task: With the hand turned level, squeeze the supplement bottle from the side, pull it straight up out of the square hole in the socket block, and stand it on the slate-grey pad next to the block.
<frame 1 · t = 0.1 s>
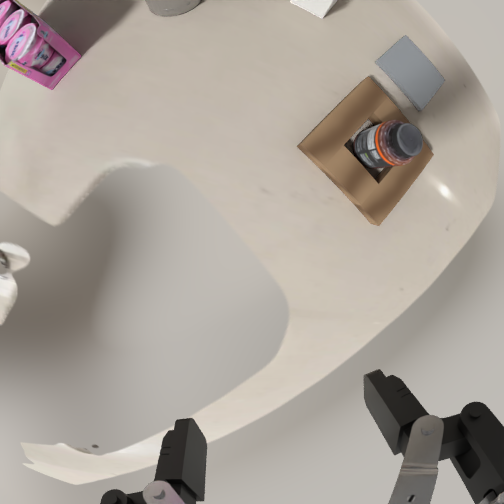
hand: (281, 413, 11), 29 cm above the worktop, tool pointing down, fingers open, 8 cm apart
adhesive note: (313, 2, 31), on the worktop
slate pad: (411, 71, 34), on the worktop
gum box: (44, 49, 28), on the worktop
supplement bottle: (368, 149, 37), resting in socket block
socket block: (369, 149, 37), on the worktop
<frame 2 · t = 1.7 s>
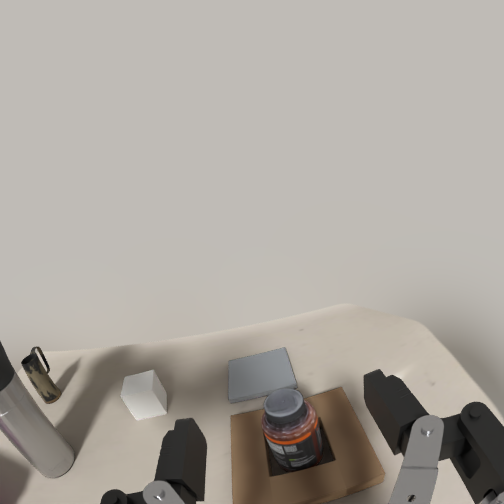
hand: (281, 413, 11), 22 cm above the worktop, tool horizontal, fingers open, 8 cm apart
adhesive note: (152, 407, 42), on the worktop
slate pad: (260, 375, 45), on the worktop
supplement bottle: (300, 456, 27), resting in socket block
mug: (54, 395, 47), on the worktop
socket block: (299, 455, 27), on the worktop
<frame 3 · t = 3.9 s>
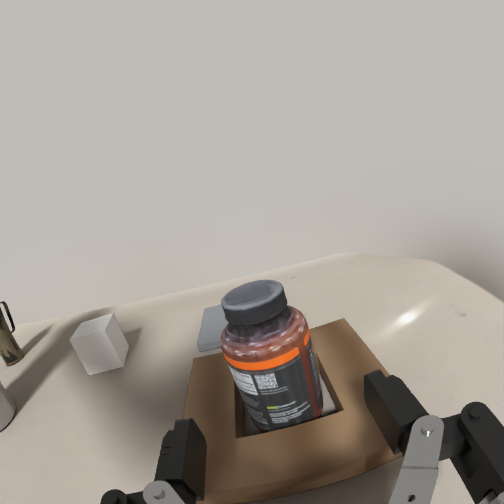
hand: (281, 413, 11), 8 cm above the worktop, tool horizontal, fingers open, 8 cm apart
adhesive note: (110, 362, 35), on the worktop
slate pad: (240, 321, 38), on the worktop
supplement bottle: (288, 414, 20), resting in socket block
mug: (17, 358, 39), on the worktop
socket block: (287, 412, 20), on the worktop
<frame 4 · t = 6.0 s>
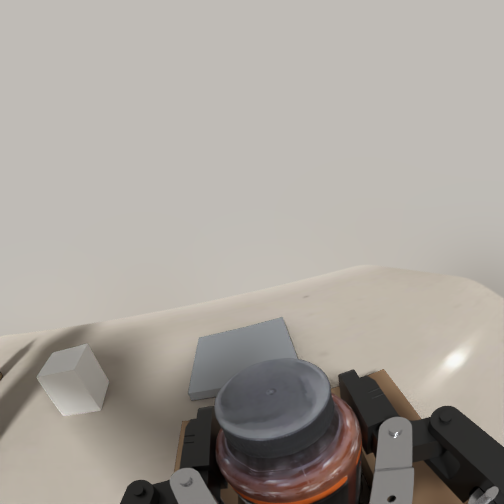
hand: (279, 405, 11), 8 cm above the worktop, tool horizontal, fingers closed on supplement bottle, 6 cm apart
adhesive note: (87, 400, 26), on the worktop
slate pad: (243, 358, 29), on the worktop
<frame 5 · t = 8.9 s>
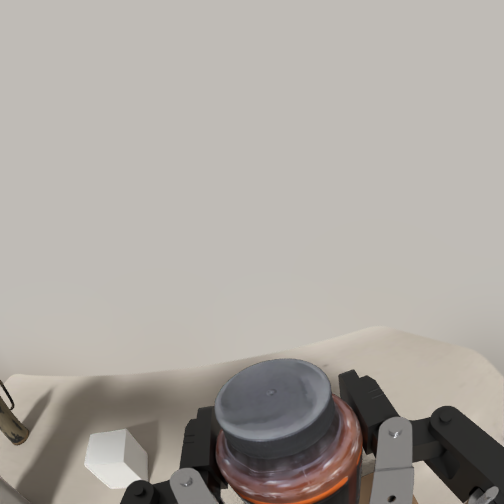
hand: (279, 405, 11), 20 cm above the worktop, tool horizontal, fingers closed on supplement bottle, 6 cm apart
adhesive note: (130, 472, 25), on the worktop
mug: (22, 434, 30), on the worktop
when the fingers open (10 cm above the worktop, at t = 12.2 s): supplement bottle drops 1 cm, resting on slate pad.
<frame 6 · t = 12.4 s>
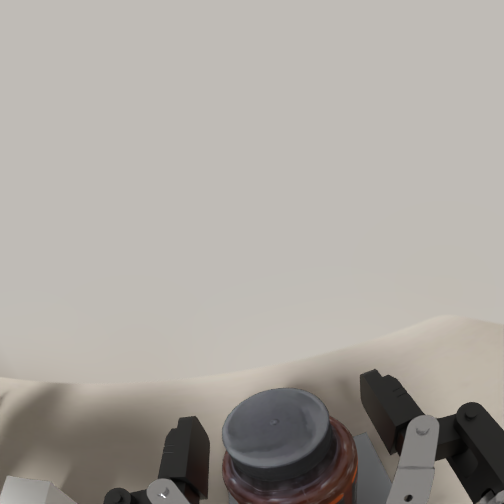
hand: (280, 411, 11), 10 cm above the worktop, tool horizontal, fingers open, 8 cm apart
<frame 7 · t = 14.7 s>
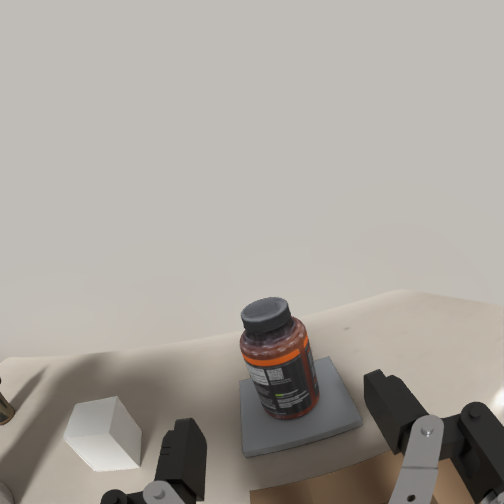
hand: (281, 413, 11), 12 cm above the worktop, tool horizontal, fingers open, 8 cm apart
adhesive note: (119, 452, 22), on the worktop
slate pad: (294, 406, 25), on the worktop
supplement bottle: (291, 402, 25), point 1 cm above the worktop, touching slate pad
mug: (8, 414, 27), on the worktop
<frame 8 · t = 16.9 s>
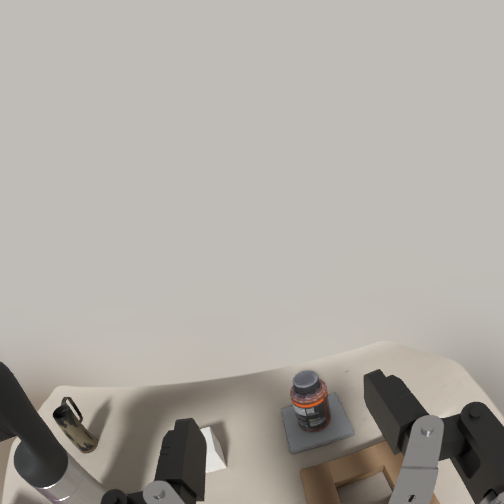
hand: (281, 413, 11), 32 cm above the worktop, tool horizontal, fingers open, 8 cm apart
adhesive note: (208, 460, 39), on the worktop
slate pad: (316, 423, 42), on the worktop
supplement bottle: (314, 421, 42), point 1 cm above the worktop, touching slate pad
mug: (89, 442, 43), on the worktop
socket block: (366, 498, 24), on the worktop
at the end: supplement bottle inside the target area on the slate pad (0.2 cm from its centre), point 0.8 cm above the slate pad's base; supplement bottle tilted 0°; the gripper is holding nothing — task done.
